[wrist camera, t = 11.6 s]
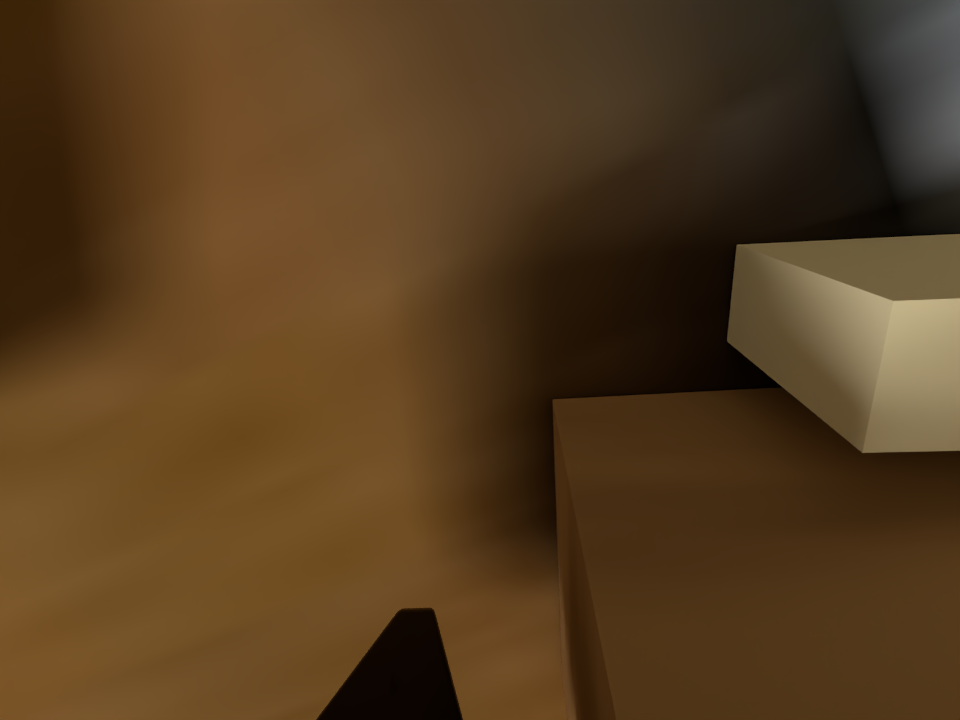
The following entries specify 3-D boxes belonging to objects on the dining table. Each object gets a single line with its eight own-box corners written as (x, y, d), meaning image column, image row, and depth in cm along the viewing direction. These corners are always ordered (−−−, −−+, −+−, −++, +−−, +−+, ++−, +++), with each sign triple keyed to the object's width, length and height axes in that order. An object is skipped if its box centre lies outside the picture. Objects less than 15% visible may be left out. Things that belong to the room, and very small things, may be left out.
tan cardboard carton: (1043, 662, 10) (1688, 1260, 5) (562, 671, 11) (622, 1210, 5) (1149, 367, 8) (2505, 797, 3) (552, 399, 9) (631, 802, 3)
